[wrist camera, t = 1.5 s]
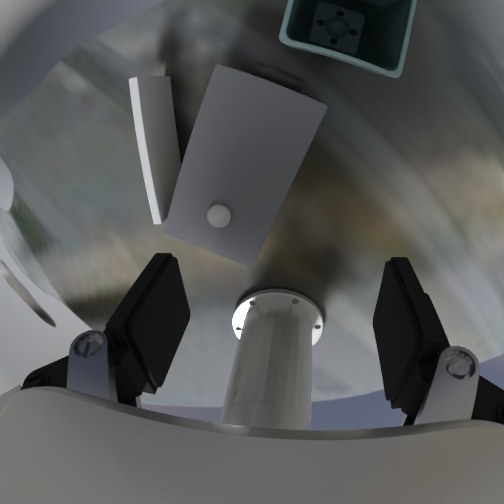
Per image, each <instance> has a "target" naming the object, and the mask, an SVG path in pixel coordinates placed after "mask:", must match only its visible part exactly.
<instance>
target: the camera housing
mask: <svg viewBox="0 0 504 504" xmlns="http://www.w3.org/2000/svg"><path fill="white" fill-rule="evenodd" d="M304 81H305V80H303V79H301V78H298V77H296V76H294V75H292V74H289V73H287V72H284V71H282V70H279V69H276V68H274V67H271V66H268V65H265V64H262V63H259V62H256V63H255V66H254V68H253V70H252V73H248V72H245V71H242V70H239V69H236V68H233V67H229V66H224V65H220V64H216V65H215V68H214V71H213V73H212V76H211V79H210V81H209V84H208V87H207V89H206V92H205V95H204V98H203V101H202V103H201V106H200V109H199V112H198V115H197V118H196V121H195V124H194V127H193V130H192V133H191V137H190V140H189V143H188V146H187V149H186V153H185V156H184V159H183V163H182V166H181V169H180V173H179V176H178V180H177V184H176V187H175V191H174V195H173V198H172V202H171V206H170V210H169V214H168V218H167V222H166V226H165V230H164V232H165V233H167V234H169V235H172V236H174V237H177V238H179V239H182V240H184V241H186V242H189V243H191V244H194V245H196V246H199V247H201V248H204V249H206V250H209V251H211V252H214V253H216V254H218V255H221V256H223V257H226V258H228V259H231V260H233V261H236V262H238V263H241V264H243V265H246V266H248V267H251V268H252V266H253V264H254V262H255V260H256V258H257V256H258V254H259V252H260V250H261V248H262V245H263V243H264V241H265V239H266V237H267V235H268V233H269V231H270V229H271V227H272V225H273V222H274V220H275V218H276V216H277V214H278V212H279V210H280V208H281V206H282V204H283V201H284V199H285V197H286V195H287V193H288V191H289V189H290V187H291V185H292V182H293V180H294V178H295V176H296V174H297V172H298V170H299V168H300V166H301V163H302V161H303V159H304V157H305V155H306V153H307V151H308V149H309V146H310V144H311V142H312V140H313V138H314V136H315V134H316V132H317V129H318V127H319V125H320V123H321V121H322V119H323V117H324V114H325V112H326V110H327V108H328V106H327V105H325V104H324V103H322V102H321V101H319V100H316V99H314V98H312V97H310V96H307V95H305V94H303V93H300V90H301V88H302V86H303V84H304Z"/></svg>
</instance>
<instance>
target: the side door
mask: <svg viewBox="0 0 504 504" xmlns="http://www.w3.org/2000/svg"><path fill="white" fill-rule="evenodd" d="M129 85H130V93H131V101H132V108H133V116H134V122H135V129H136V135H137V141H138V147H139V153H140V159H141V164H142V169H143V175H144V180H145V185H146V190H147V195H148V199H149V204H150V209H151V213H152V217H153V222H154V224H162V223H163V222H164V221H165V219H166V218H167V217H168V214H169V210H170V206H171V202H172V198H173V195H174V191H175V187H176V184H177V180H178V176H179V173H180V169H181V160H180V153H179V146H178V139H177V131H176V123H175V116H174V107H173V99H172V90H171V81H170V76H148V77H135V78H131V79H129Z"/></svg>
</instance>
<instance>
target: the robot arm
mask: <svg viewBox="0 0 504 504" xmlns="http://www.w3.org/2000/svg"><path fill="white" fill-rule="evenodd" d="M189 320H190V309H189V305H188V301H187V297H186V293H185V289H184V285H183V281H182V277H181V273H180V269H179V265H178V260H177V258H176V257H173V255H172V254H171V253H156V254H155V255H154V256H153V258H152V259H151V261H150V262H149V263H148V265H147V266H146V267H145V269H144V270H143V272H142V273H141V274H140V276H139V277H138V279H137V280H136V281H135V283H134V284H133V286H132V287H131V288H130V290H129V291H128V293H127V294H126V296H125V297H124V299H123V300H122V302H121V303H120V304H119V306H118V307H117V309H116V310H115V312H114V313H113V315H112V316H111V318H110V319H109V321H108V322H107V324H106V325H105V326H106V329H105V330H104V332H101V331H99V330H89V331H86V332H84V333H82V334H80V335H78V336H77V337H76V338H75V339H74V340H73V342H72V344H71V346H70V351H69V355H68V356H66V357H64V358H62V359H60V360H58V361H55V362H53V363H50V364H48V365H46V366H44V367H41V368H39V369H37V370H35V371H33V372H32V373H30V374H29V375H28V376H27V377H26V379H25V381H24V383H23V387H21V386H20V385H19V386H17V387H15V388H13V389H11V390H10V391H8V392H6V393H4V394H2V395H1V396H0V504H504V390H502V389H501V388H499V387H498V386H496V385H494V384H493V383H491V382H490V381H488V380H486V379H485V378H483V377H482V376H480V375H479V373H480V364H479V362H478V359H477V358H476V356H475V355H474V354H473V353H472V352H471V351H470V350H468V349H466V348H464V347H460V346H451V347H450V344H449V342H448V339H447V337H446V334H445V332H444V329H443V327H442V324H441V322H440V319H439V317H438V315H437V312H436V310H435V308H434V306H433V303H432V301H431V299H430V297H429V295H428V294H426V293H424V291H423V289H422V287H421V284H420V282H419V280H418V278H417V276H416V274H415V272H414V270H413V268H412V266H411V264H410V262H409V260H408V258H407V257H392V258H391V260H390V261H387V262H386V263H385V268H384V273H383V278H382V282H381V287H380V291H379V296H378V300H377V304H376V308H375V312H374V316H373V329H374V334H375V339H376V344H377V349H378V354H379V360H380V366H381V371H382V378H383V384H384V390H385V396H386V400H390V401H391V408H392V409H395V408H401V409H402V412H404V413H405V416H404V419H403V421H402V424H401V426H399V427H387V428H374V429H360V430H359V429H358V430H324V431H323V430H310V418H311V390H312V346H314V345H315V344H316V343H317V342H318V340H319V339H320V337H321V335H322V332H323V316H322V314H321V311H320V309H319V308H318V306H317V305H316V304H315V303H314V302H313V301H312V300H311V299H309V298H307V297H306V296H304V295H302V294H300V293H297V292H295V291H291V290H286V289H266V290H260V291H257V292H255V293H252V294H250V295H248V296H247V297H245V298H244V299H243V300H242V301H241V302H239V304H238V305H237V307H236V309H235V312H234V315H233V320H232V322H233V329H234V331H235V333H236V335H237V337H238V338H239V343H238V347H237V351H236V355H235V360H234V364H233V368H232V372H231V376H230V381H229V385H228V389H227V393H226V397H225V401H224V406H223V410H222V414H221V419H220V423H213V422H207V421H201V420H194V419H189V418H183V417H178V416H172V415H168V414H163V413H159V412H154V411H150V410H145V409H142V408H141V401H140V395H141V394H142V392H146V393H151V394H155V393H156V391H157V388H158V387H161V386H162V385H163V383H164V380H165V378H166V375H167V373H168V370H169V368H170V365H171V363H172V361H173V358H174V356H175V353H176V351H177V348H178V346H179V344H180V341H181V339H182V336H183V334H184V332H185V329H186V327H187V325H188V322H189Z"/></svg>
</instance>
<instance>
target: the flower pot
mask: <svg viewBox="0 0 504 504" xmlns="http://www.w3.org/2000/svg"><path fill="white" fill-rule="evenodd" d="M416 3H417V0H288V3H287V7H286V11H285V15H284V18H283V22H282V26H281V30H280V34H279V39H280V41H281V42H282V43H284V44H286V45H288V46H290V47H292V48H295V49H300V50H304V51H309V52H313V53H316V54H320V55H324V56H327V57H331V58H334V59H337V60H341V61H344V62H347V63H350V64H353V65H355V66H358V67H361V68H364V69H366V70H369V71H371V72H374V73H378V74H381V75H385V76H389V77H392V78H399V77H400V76H401V73H402V70H403V66H404V61H405V57H406V52H407V47H408V43H409V38H410V33H411V29H412V23H413V18H414V13H415V9H416ZM338 12H341V13H342V14H343V16H338ZM318 21H322V22H323V25H319V24H318ZM351 31H355V33H356V34H355V35H352V34H351ZM332 39H334V40H336V44H332V43H331V40H332Z"/></svg>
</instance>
